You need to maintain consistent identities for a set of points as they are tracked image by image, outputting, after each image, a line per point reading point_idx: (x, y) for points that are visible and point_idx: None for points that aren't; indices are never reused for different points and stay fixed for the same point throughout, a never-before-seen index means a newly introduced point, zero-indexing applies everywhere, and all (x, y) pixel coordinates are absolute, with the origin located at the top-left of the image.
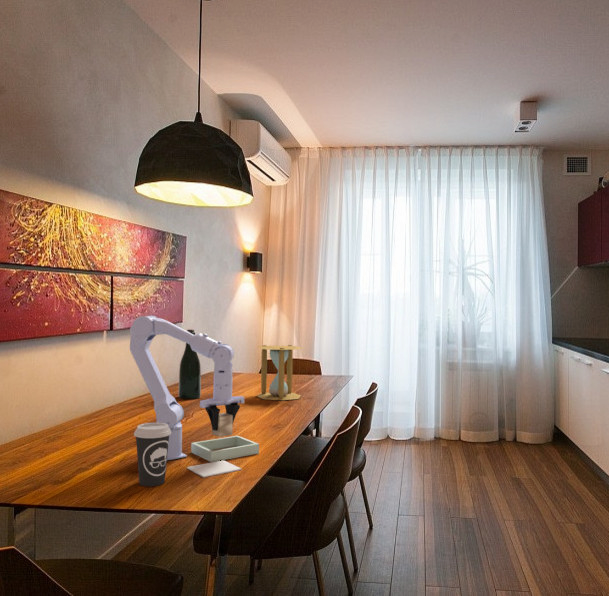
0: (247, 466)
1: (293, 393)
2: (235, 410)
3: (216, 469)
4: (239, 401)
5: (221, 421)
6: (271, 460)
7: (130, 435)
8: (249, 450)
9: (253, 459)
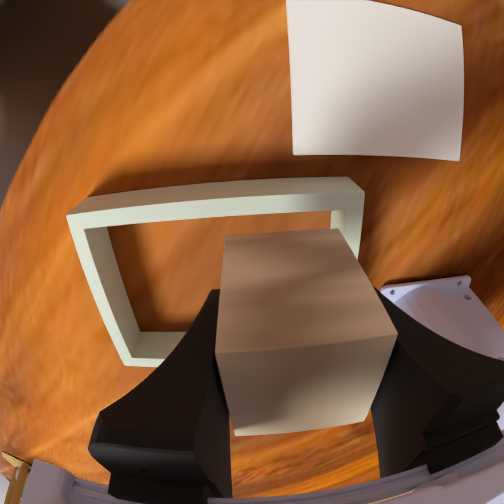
0: (227, 24)
1: (12, 464)
2: (166, 399)
3: (391, 51)
4: (82, 495)
5: (360, 300)
6: (80, 69)
7: (350, 456)
8: (125, 198)
9: (143, 116)
